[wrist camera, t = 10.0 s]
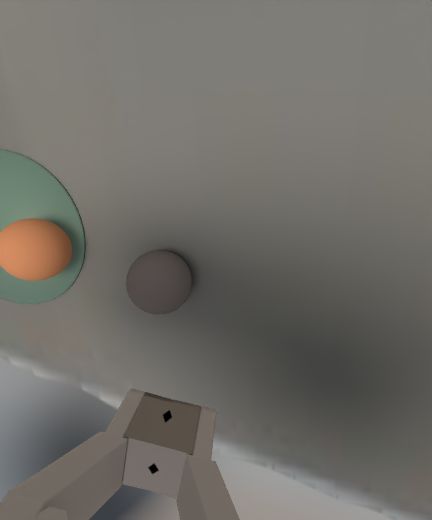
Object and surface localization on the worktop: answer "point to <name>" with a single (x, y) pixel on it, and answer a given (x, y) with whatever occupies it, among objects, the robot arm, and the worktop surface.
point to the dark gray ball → (159, 282)
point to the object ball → (34, 249)
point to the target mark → (40, 207)
